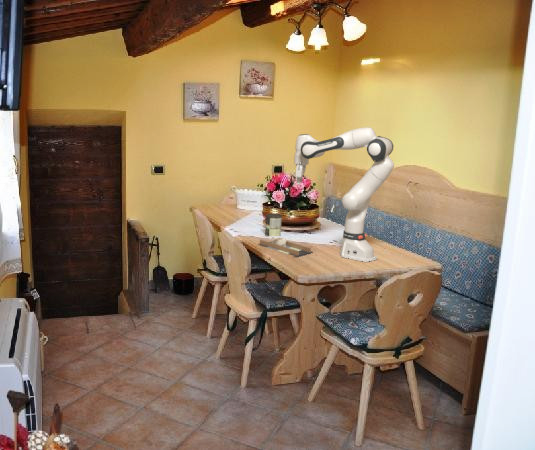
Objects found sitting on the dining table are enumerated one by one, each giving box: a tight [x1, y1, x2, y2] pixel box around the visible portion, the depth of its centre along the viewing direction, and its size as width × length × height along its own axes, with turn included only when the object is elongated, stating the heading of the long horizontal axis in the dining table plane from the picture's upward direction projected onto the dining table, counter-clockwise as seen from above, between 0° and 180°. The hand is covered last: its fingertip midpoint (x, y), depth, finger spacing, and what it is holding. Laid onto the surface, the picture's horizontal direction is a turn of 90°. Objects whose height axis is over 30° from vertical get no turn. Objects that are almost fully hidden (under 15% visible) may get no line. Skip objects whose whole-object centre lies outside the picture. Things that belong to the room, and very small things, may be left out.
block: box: [271, 236, 287, 247], centre depth 326 cm, size 6×6×4 cm
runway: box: [257, 236, 314, 258], centre depth 323 cm, size 30×16×4 cm, turn 47°
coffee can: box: [264, 212, 283, 238], centre depth 353 cm, size 10×10×14 cm
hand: (299, 183), depth 330 cm, fingers open, 8 cm apart
